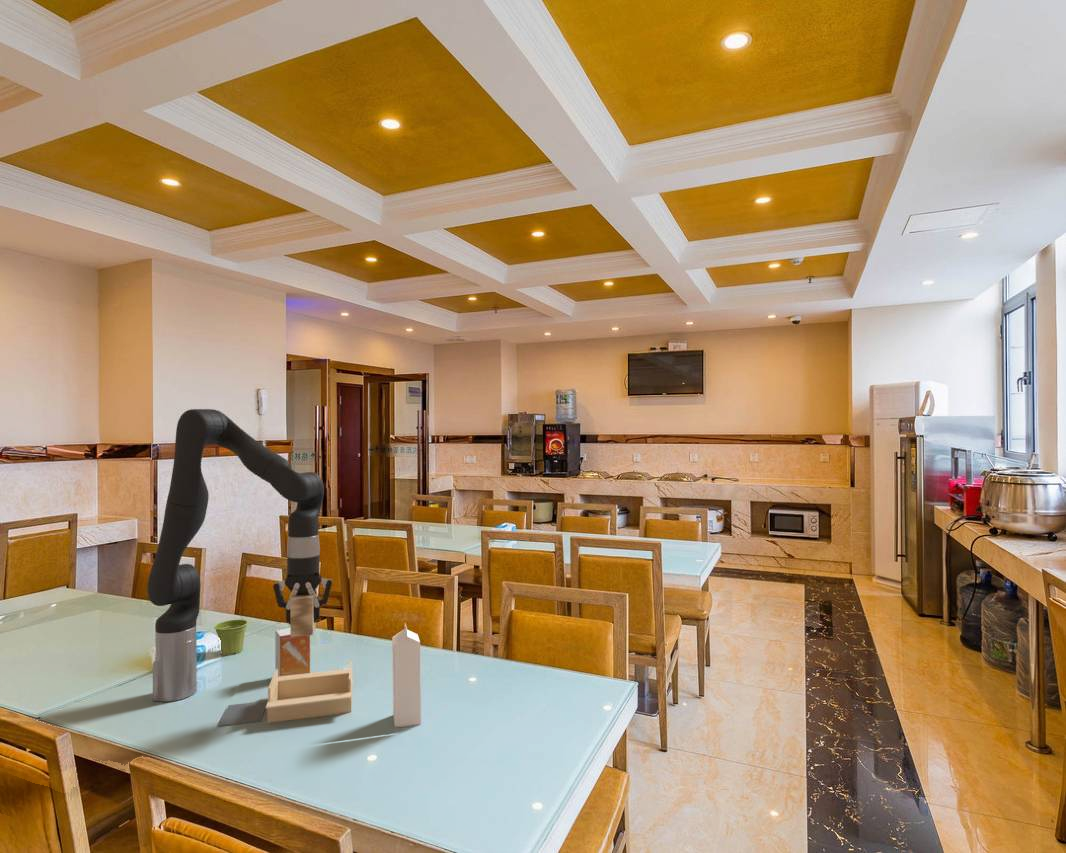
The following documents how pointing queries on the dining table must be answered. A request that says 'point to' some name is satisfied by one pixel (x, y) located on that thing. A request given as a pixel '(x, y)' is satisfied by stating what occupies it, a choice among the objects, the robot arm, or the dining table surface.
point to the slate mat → (243, 713)
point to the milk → (406, 679)
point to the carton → (310, 694)
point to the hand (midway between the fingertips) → (303, 622)
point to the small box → (291, 653)
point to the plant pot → (231, 635)
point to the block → (302, 615)
